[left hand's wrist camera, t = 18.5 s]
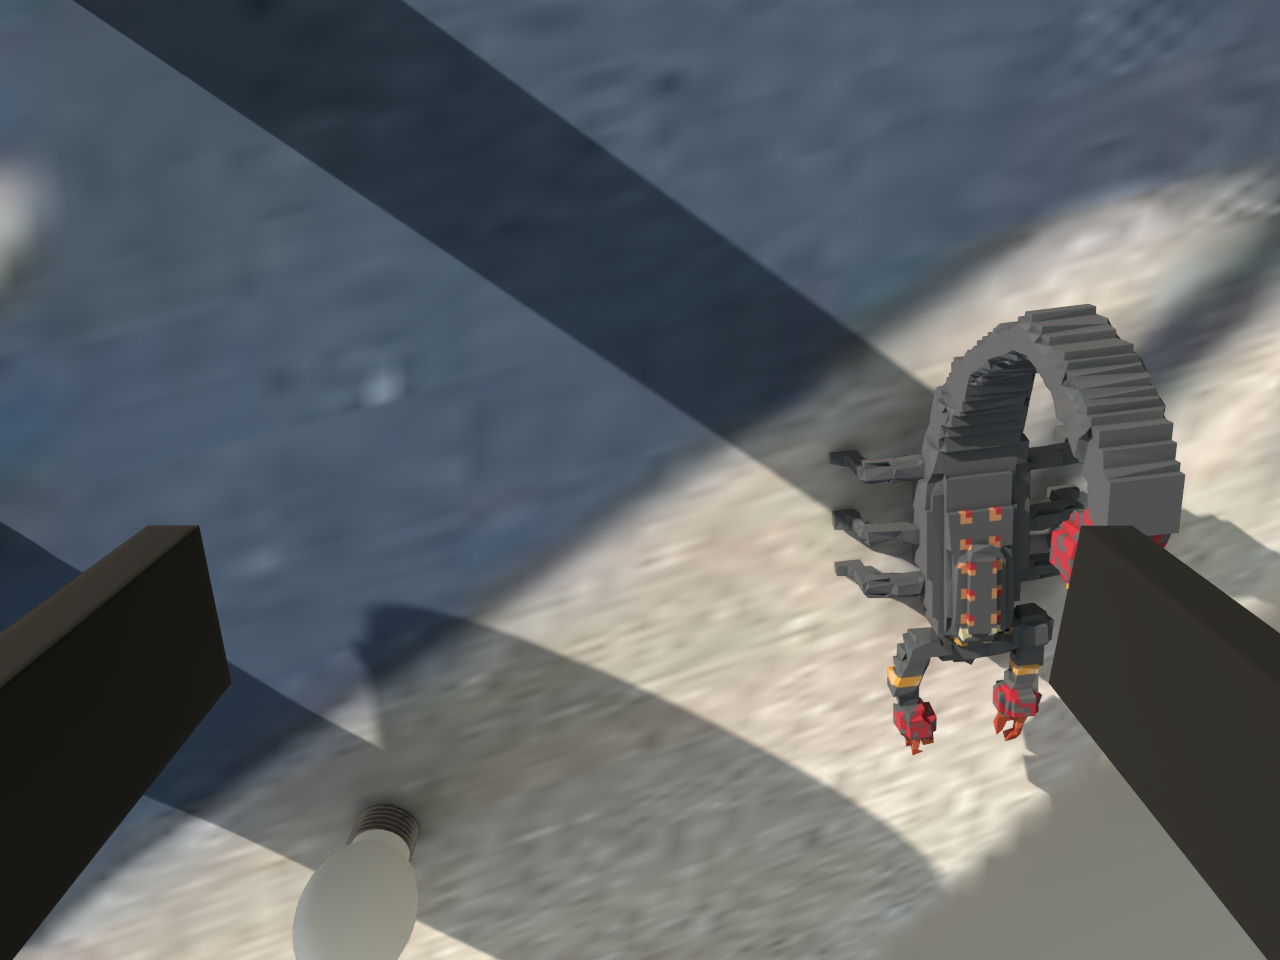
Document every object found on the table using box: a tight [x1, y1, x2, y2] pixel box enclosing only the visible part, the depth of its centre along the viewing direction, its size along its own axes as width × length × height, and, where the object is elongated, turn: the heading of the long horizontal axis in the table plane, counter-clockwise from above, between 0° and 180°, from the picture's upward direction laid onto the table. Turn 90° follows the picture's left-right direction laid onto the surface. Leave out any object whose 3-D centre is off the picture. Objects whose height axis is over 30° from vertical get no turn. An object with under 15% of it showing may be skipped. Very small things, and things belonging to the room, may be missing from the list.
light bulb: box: [292, 806, 419, 960], centre depth 50 cm, size 7×7×11 cm
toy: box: [830, 304, 1185, 755], centre depth 38 cm, size 13×27×18 cm, turn 7°
